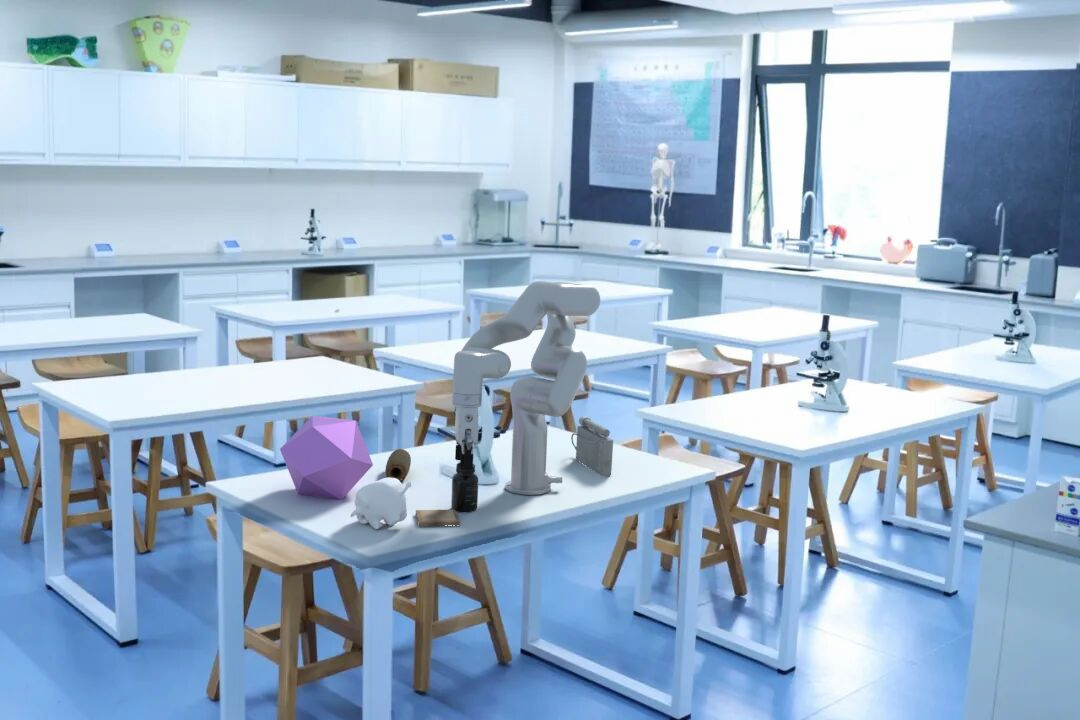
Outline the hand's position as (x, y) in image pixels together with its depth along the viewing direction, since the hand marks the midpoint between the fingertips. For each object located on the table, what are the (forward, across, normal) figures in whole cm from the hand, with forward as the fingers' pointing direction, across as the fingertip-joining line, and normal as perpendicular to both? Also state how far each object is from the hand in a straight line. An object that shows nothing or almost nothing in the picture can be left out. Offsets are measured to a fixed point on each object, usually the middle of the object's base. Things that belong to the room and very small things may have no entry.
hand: (463, 464), depth 295 cm
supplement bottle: (+12, +1, -1) cm, 12 cm away
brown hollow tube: (+12, +34, +14) cm, 38 cm away
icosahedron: (+13, +18, +34) cm, 40 cm away
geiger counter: (+10, +42, -44) cm, 61 cm away
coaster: (+12, -8, +7) cm, 17 cm away
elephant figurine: (+13, -11, +21) cm, 27 cm away
